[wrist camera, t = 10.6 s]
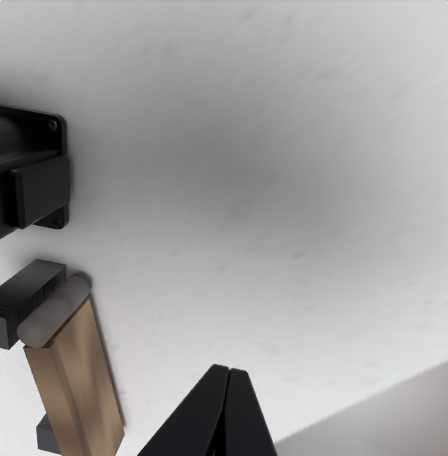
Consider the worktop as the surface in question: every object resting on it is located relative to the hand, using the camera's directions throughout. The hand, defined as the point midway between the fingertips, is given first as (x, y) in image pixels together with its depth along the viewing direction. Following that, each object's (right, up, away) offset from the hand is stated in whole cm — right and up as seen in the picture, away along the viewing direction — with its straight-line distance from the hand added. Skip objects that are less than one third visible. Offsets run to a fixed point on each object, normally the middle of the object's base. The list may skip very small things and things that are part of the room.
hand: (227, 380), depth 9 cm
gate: (-9, -6, +16) cm, 19 cm away
